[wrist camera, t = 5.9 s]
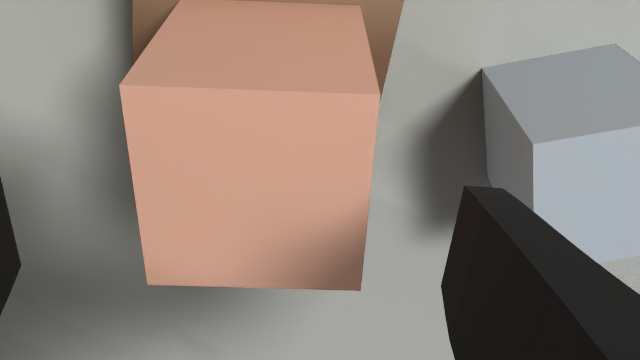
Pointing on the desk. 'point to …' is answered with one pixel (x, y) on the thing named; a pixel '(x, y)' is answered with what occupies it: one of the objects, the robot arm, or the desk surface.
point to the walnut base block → (376, 3)
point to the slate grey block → (570, 144)
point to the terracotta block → (253, 145)
